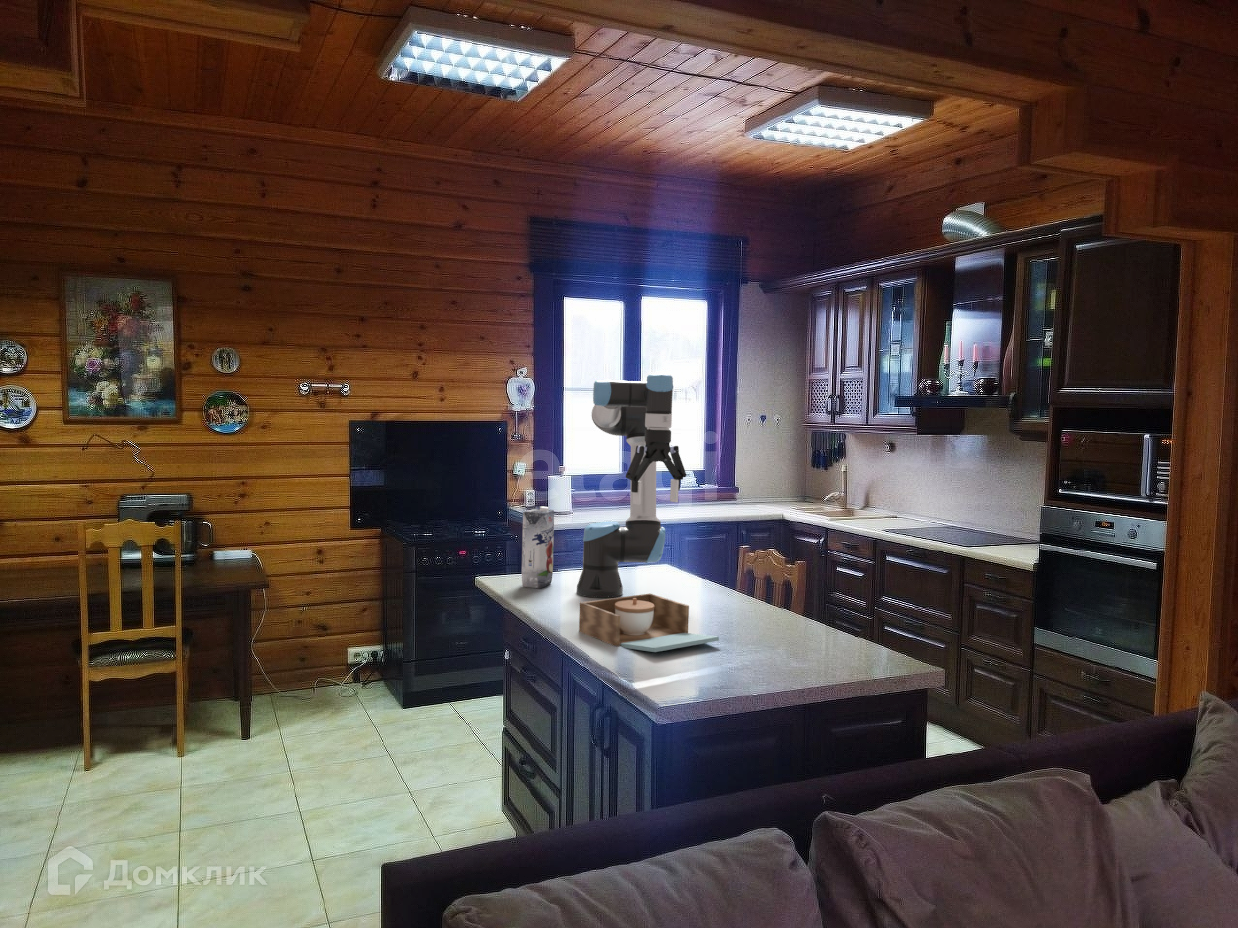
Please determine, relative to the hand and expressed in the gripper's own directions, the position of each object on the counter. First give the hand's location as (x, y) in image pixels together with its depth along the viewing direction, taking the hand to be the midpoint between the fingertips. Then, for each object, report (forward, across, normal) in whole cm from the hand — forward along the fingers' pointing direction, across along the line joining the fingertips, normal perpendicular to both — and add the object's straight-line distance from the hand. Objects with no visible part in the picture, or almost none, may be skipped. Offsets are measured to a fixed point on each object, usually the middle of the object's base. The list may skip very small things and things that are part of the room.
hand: (655, 503), depth 257 cm
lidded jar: (+33, -15, -11) cm, 38 cm away
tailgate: (+33, -15, -19) cm, 41 cm away
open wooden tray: (+34, -15, -11) cm, 39 cm away
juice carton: (+35, -4, +58) cm, 68 cm away
